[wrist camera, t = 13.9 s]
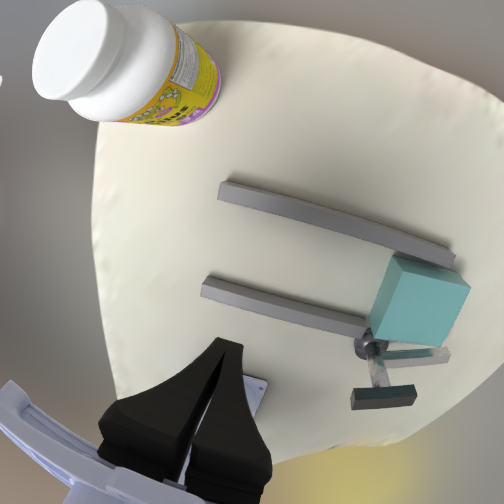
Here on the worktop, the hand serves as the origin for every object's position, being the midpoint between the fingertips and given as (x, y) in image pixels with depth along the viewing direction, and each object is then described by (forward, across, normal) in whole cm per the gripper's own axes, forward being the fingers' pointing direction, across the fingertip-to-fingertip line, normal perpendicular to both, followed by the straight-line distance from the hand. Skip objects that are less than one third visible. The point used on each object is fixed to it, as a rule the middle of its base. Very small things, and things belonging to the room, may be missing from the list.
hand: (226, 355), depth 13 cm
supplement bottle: (+11, +9, -13) cm, 19 cm away
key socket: (+10, -12, +4) cm, 16 cm away
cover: (+11, -14, -1) cm, 17 cm away
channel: (+10, -5, -2) cm, 12 cm away
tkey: (+10, -14, +4) cm, 17 cm away
